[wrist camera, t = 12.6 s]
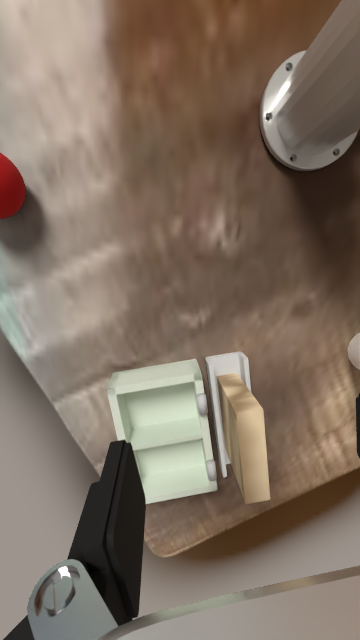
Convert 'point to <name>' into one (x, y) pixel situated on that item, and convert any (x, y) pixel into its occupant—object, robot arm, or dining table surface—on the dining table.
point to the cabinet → (173, 423)
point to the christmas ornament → (10, 188)
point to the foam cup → (354, 351)
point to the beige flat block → (244, 437)
